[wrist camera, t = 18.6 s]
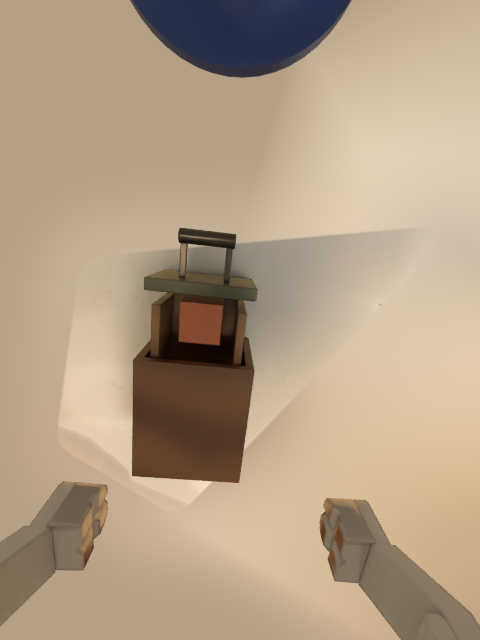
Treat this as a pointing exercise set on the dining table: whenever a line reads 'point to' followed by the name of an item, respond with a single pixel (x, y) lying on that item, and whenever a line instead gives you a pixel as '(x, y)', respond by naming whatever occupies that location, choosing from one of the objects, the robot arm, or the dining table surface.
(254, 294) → the drawer
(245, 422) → the cabinet
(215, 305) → the block
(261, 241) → the dining table surface
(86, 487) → the robot arm
